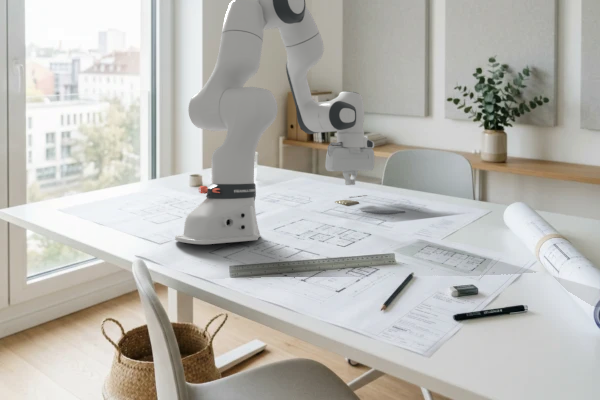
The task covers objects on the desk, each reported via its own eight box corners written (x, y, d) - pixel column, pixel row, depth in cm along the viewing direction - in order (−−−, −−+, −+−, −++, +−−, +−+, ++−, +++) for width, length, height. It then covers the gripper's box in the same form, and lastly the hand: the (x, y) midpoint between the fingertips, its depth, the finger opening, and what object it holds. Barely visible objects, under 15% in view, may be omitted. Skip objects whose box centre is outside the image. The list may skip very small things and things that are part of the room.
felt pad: (386, 214, 181) (386, 213, 181) (360, 212, 188) (360, 210, 188) (405, 212, 187) (405, 211, 187) (379, 210, 194) (379, 208, 194)
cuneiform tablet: (352, 197, 191) (326, 196, 200) (352, 211, 192) (326, 209, 201) (367, 195, 196) (341, 194, 205) (367, 209, 196) (341, 207, 205)
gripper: (335, 141, 186) (335, 186, 187) (377, 142, 200) (377, 184, 201) (320, 142, 191) (320, 185, 191) (363, 143, 204) (363, 183, 205)
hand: (350, 185), depth 196 cm, fingers closed
